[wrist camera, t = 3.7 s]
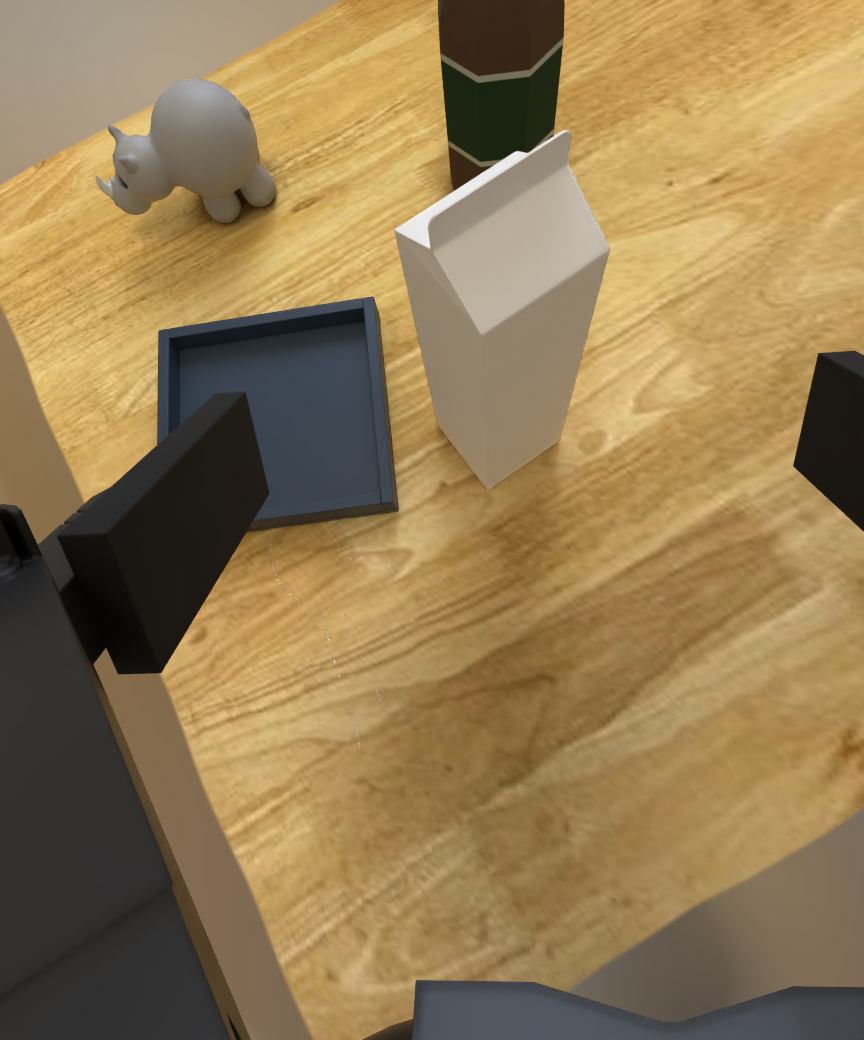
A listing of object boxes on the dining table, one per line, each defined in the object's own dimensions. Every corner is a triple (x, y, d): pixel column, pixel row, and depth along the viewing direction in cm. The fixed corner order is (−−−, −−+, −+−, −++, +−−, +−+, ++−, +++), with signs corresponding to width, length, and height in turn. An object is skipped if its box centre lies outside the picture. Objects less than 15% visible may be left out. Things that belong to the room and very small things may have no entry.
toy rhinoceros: (125, 199, 50) (53, 104, 42) (262, 142, 50) (216, 36, 42) (147, 268, 48) (76, 182, 40) (290, 208, 48) (248, 111, 40)
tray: (379, 313, 45) (373, 295, 43) (398, 511, 41) (393, 502, 39) (172, 345, 46) (158, 330, 44) (172, 541, 42) (155, 534, 40)
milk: (436, 424, 43) (373, 162, 21) (508, 376, 43) (516, 70, 22) (488, 493, 41) (476, 281, 20) (563, 441, 41) (629, 180, 20)
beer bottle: (532, 227, 46) (568, -241, 23) (433, 203, 47) (374, -259, 24) (563, 144, 47) (627, -370, 24) (467, 124, 49) (442, -380, 26)
